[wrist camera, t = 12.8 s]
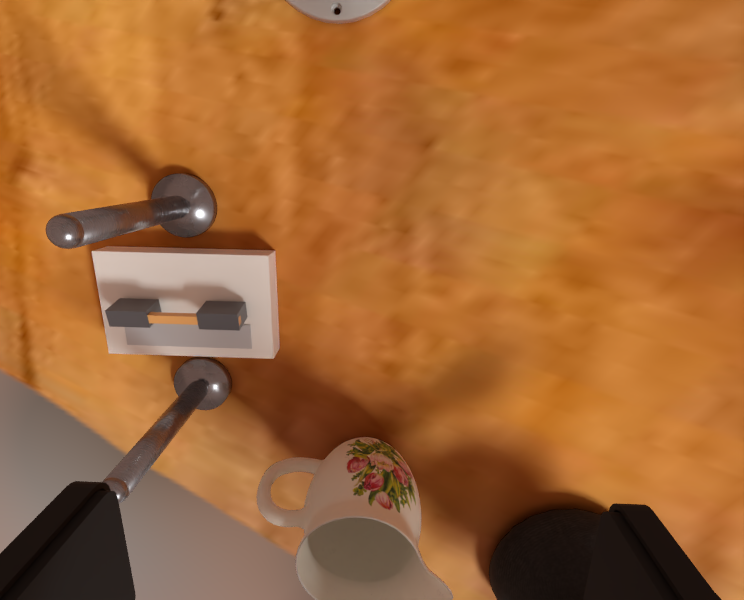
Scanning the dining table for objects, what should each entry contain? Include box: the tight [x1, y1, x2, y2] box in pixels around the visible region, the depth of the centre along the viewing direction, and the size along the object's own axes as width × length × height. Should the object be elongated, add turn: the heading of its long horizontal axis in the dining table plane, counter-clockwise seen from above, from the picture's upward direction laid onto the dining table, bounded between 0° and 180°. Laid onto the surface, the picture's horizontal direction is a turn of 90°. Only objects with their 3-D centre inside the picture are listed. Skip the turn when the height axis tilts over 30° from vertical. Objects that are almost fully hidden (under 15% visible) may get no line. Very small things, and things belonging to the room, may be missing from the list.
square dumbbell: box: [105, 298, 247, 331], centre depth 40 cm, size 2×12×2 cm, turn 89°
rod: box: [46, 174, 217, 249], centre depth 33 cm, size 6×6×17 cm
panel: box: [92, 246, 280, 359], centre depth 42 cm, size 10×16×3 cm, turn 89°
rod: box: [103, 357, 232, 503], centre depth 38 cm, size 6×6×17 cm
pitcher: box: [257, 437, 453, 600], centre depth 42 cm, size 11×18×14 cm, turn 71°
